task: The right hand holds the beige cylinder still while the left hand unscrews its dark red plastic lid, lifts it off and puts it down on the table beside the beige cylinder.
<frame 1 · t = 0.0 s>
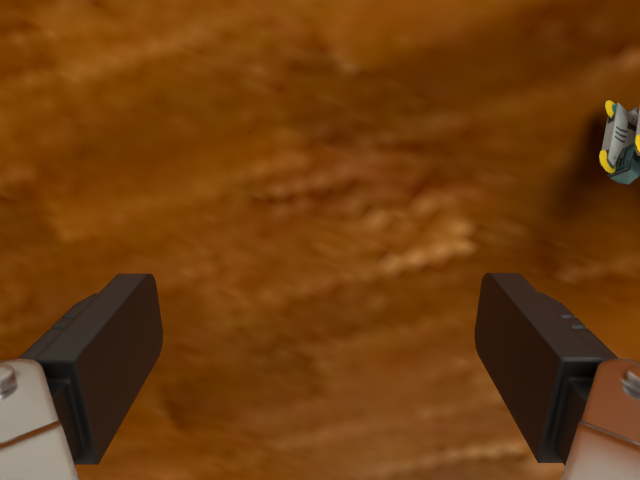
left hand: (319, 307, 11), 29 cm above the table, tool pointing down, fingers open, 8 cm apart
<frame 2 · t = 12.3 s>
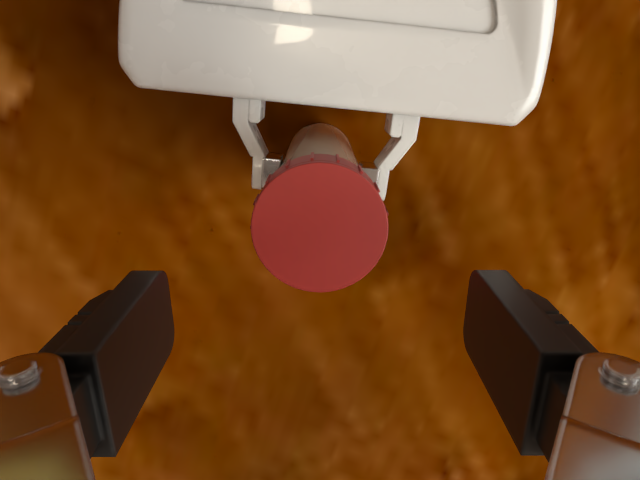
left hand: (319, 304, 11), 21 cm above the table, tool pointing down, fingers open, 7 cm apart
lid: (319, 227, 17), point 15 cm above the table, screwed on, not yet turned
beige cylinder: (320, 155, 31), on the table, touching right hand
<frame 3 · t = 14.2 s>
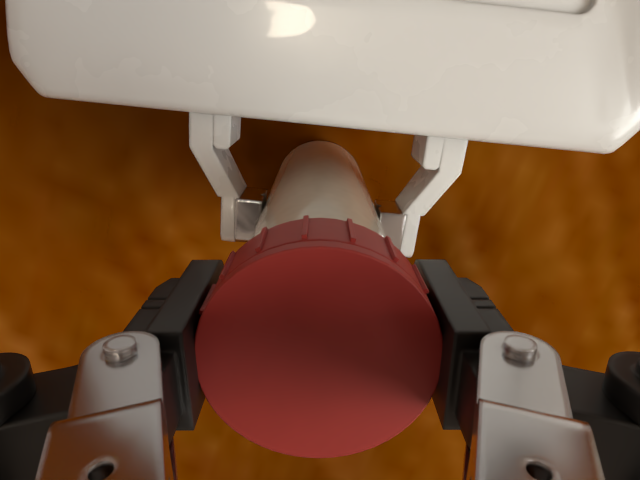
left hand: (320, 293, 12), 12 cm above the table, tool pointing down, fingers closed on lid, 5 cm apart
lid: (318, 352, 9), point 15 cm above the table, screwed on, not yet turned, touching left hand
beige cylinder: (319, 182, 23), on the table, touching right hand
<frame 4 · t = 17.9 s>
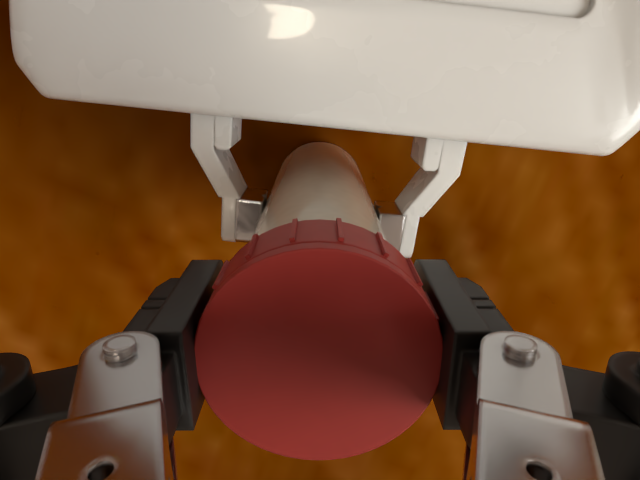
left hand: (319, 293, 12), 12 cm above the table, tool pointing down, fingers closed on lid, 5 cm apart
lid: (318, 354, 9), point 15 cm above the table, turned 90° so far, risen 0.1 cm, still on its thread, touching left hand
beige cylinder: (319, 183, 24), on the table, touching right hand
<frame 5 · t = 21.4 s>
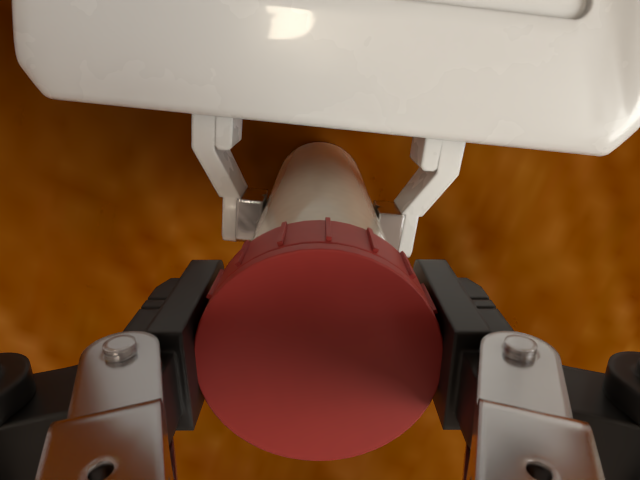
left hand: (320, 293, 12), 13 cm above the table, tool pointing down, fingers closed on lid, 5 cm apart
lid: (318, 355, 9), point 15 cm above the table, turned 180° so far, risen 0.3 cm, still on its thread, touching left hand
beige cylinder: (319, 183, 24), on the table, touching right hand
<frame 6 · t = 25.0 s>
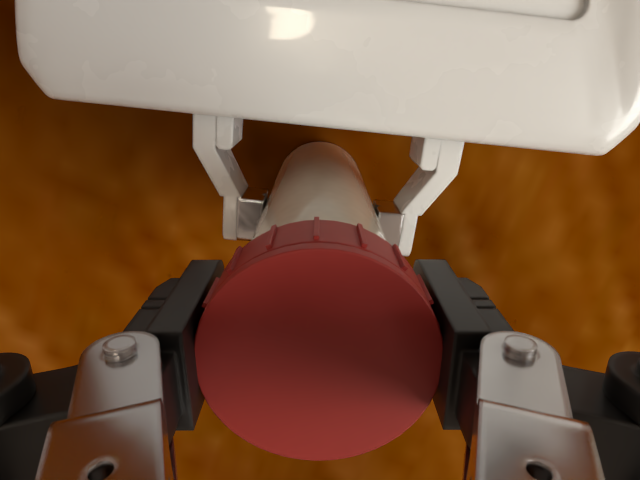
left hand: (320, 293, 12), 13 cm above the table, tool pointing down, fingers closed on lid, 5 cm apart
lid: (318, 354, 9), point 15 cm above the table, turned 269° so far, risen 0.4 cm, still on its thread, touching left hand
beige cylinder: (319, 183, 24), on the table, touching right hand
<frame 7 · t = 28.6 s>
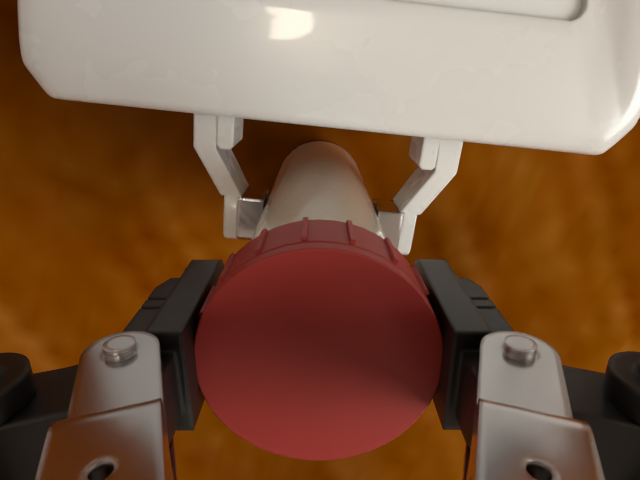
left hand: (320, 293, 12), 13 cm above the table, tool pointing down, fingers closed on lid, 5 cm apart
lid: (318, 354, 9), point 16 cm above the table, turned 359° so far, risen 0.5 cm, still on its thread, touching left hand
beige cylinder: (319, 182, 24), on the table, touching right hand
when the left hand's fingers open (0 cm above the table, at t = 38.2 s): lid drops 2 cm, point 1 cm above the table.
when the right hand's fingers open (7 cm above the table, at t = 39.2 s): beige cylinder stays where it is, on the table.
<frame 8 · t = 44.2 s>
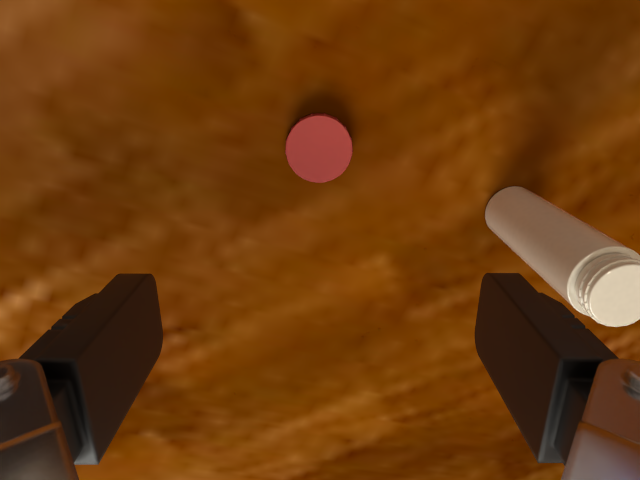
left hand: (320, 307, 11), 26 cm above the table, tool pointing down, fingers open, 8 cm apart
lid: (319, 149, 34), point 1 cm above the table, off its thread
beige cylinder: (511, 211, 37), on the table
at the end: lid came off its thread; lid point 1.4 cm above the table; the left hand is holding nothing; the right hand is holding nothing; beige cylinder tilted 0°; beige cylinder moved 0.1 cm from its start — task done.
